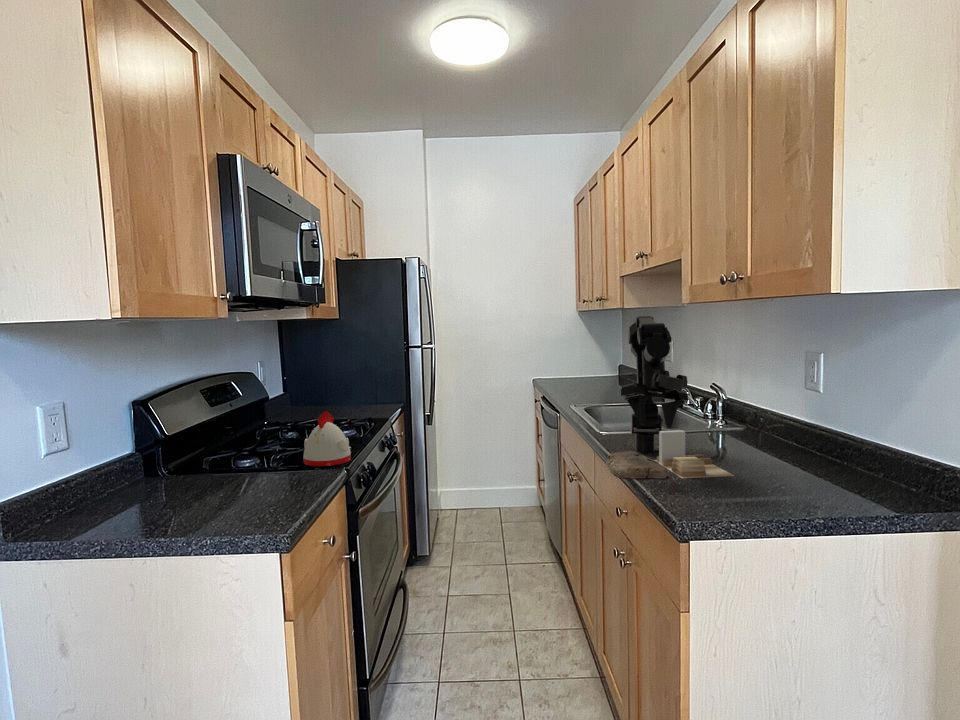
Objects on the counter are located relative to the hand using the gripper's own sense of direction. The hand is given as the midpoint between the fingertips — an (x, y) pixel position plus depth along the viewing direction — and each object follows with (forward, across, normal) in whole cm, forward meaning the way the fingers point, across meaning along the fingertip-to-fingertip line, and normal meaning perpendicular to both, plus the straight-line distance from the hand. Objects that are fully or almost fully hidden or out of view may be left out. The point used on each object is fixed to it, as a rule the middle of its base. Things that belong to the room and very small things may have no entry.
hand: (656, 426), depth 142 cm
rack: (+10, +14, +2) cm, 18 cm away
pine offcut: (+9, +9, -2) cm, 13 cm away
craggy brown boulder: (+12, 0, +10) cm, 15 cm away
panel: (+8, +13, +7) cm, 17 cm away
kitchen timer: (+11, -70, +66) cm, 97 cm away
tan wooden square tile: (+12, +9, -2) cm, 15 cm away
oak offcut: (+10, +9, -2) cm, 14 cm away
